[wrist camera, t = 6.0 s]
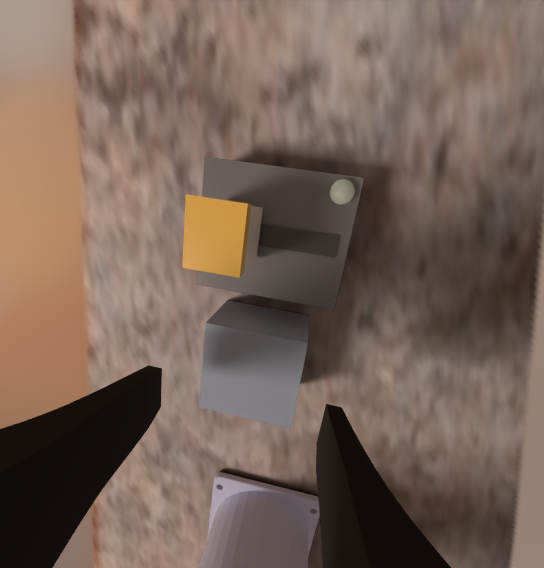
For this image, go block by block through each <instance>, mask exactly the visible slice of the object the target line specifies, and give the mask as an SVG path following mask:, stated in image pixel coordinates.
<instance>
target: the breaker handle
mask: <svg viewBox="0 0 544 568" xmlns="http://www.w3.org/2000/svg"><path fill="white" fill-rule="evenodd" d="M262 212H263V208H261V207H255V206H252V204H247V203H241V202H234V201H227V200H220V199H214V198H207V197H200V196H193V195H187V194H186V206H185V227H184V247H183V268H187V269H193V270H198V271H204V272H210V273H215V274H221V275H227V276H232V277H238V278H240V277H241V276H242V275H243V274H244V271H245V270H246V269H247V268H248V267H249V266H251V265H252V264H253V263H254V262H255V261H256V258H257V251H258V243H259V235H260V227H261V219H262Z"/></svg>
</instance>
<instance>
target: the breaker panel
mask: <svg viewBox="0 0 544 568" xmlns="http://www.w3.org/2000/svg"><path fill="white" fill-rule="evenodd" d="M363 181H364V178H363V177H355V176H348V175H340V174H332V173H325V172H317V171H310V170H302V169H295V168H287V167H280V166H272V165H264V164H257V163H249V162H242V161H234V160H227V159H219V158H212V157H205V161H204V177H203V192H202V197H207V198H214V199H220V200H227V201H234V202H241V203H247V204H252V206H255V207H261V208H263V212H262V219H261V227H260V235H259V243H258V251H257V258H256V261H255V262H254V263H253V264H252V265H251V266H249V267H248V268H247V269H246V270H245V271H244V274H243V275H242V276H241V277H240V278H238V277H232V276H227V275H221V274H215V273H210V272H204V271H198V270H197V285H201V286H207V287H212V288H218V289H223V290H229V291H234V292H240V293H245V294H251V295H256V296H262V297H267V298H273V299H278V300H284V301H289V302H295V303H300V304H306V305H311V306H317V307H322V308H328V309H333V310H334V309H335V305H336V300H337V296H338V292H339V287H340V283H341V278H342V274H343V269H344V265H345V261H346V256H347V252H348V247H349V243H350V238H351V234H352V230H353V225H354V221H355V216H356V212H357V207H358V203H359V198H360V194H361V190H362V185H363Z"/></svg>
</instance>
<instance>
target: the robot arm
mask: <svg viewBox="0 0 544 568" xmlns="http://www.w3.org/2000/svg"><path fill="white" fill-rule="evenodd" d="M161 377H162V368H157V367H152V366H147V367H145V368H143V369H140V370H138V371H136V372H134V373H132V374H130V375H128V376H126V377H124V378H122V379H120V380H118V381H116V382H114V383H112V384H110V385H108V386H106V387H104V388H102V389H100V390H98V391H96V392H94V393H92V394H90V395H87V396H85V397H83V398H81V399H79V400H76V401H74V402H72V403H70V404H68V405H65V406H63V407H60V408H58V409H56V410H53V411H51V412H48V413H46V414H43V415H40V416H37V417H35V418H32V419H29V420H27V421H24V422H21V423H18V424H15V425H12V426H9V427H5V428H2V429H0V568H52V567H53V566H54V564H55V562H56V561H57V559H58V558H59V556H60V554H61V553H62V551H63V550H64V548H65V546H66V545H67V543H68V541H69V540H70V538H71V537H72V535H73V533H74V532H75V530H76V529H77V527H78V525H79V524H80V522H81V521H82V519H83V518H84V516H85V515H86V513H87V511H88V510H89V508H90V507H91V505H92V504H93V502H94V501H95V499H96V498H97V496H98V495H99V493H100V492H101V490H102V489H103V488H104V486H105V485H106V483H107V482H108V481H109V480H110V478H111V477H112V476H113V474H114V473H115V472H116V470H117V469H118V468H119V466H120V465H121V464H122V463H123V461H124V460H125V459H126V457H127V456H128V455H129V453H130V452H131V451H132V449H133V448H134V447H135V445H136V444H137V443H138V441H139V440H140V439H141V437H142V436H143V435H144V433H145V432H146V431H147V429H148V428H149V426H150V424H151V423H152V421H153V420H154V418H155V416H156V414H157V413H158V411H159V409H160V407H161ZM316 474H317V487H318V497H317V496H314V495H310V494H306V493H302V492H298V491H294V490H290V489H286V488H282V487H278V486H274V485H270V484H266V483H262V482H258V481H254V480H250V479H246V478H242V477H238V476H234V475H231V474H227V473H223V472H219V473H217V474H216V476H215V479H214V485H213V494H212V503H211V513H210V522H209V531H208V539H207V542H206V545H205V548H204V552H203V555H202V558H201V561H200V564H199V568H308V556H309V552H310V548H311V545H312V541H313V537H314V534H315V530H316V526H317V523H318V519H319V515H320V524H321V536H322V554H323V568H451V567H450V566H449V565H448V563H447V562H446V561H445V560H444V559H443V558H442V557H441V555H440V554H439V553H438V552H437V551H436V549H435V548H434V547H433V546H432V545H431V543H430V542H429V541H428V540H427V539H426V537H425V536H424V535H423V534H422V533H421V531H420V530H419V529H418V528H417V526H416V525H415V524H414V523H413V521H412V520H411V519H410V517H409V516H408V515H407V514H406V512H405V511H404V509H403V508H402V507H401V505H400V504H399V503H398V501H397V500H396V499H395V497H394V496H393V494H392V493H391V491H390V490H389V488H388V487H387V485H386V484H385V482H384V481H383V479H382V478H381V476H380V475H379V473H378V472H377V470H376V469H375V467H374V465H373V464H372V462H371V460H370V459H369V457H368V455H367V454H366V452H365V450H364V448H363V447H362V445H361V443H360V441H359V440H358V438H357V436H356V434H355V432H354V430H353V429H352V427H351V425H350V423H349V421H348V419H347V417H346V415H345V413H344V411H343V409H342V408H341V407H337V406H332V405H328V404H326V407H325V412H324V416H323V420H322V424H321V428H320V432H319V436H318V440H317V455H316Z"/></svg>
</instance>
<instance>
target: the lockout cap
mask: <svg viewBox="0 0 544 568" xmlns="http://www.w3.org/2000/svg"><path fill="white" fill-rule="evenodd" d="M307 347H308V315H305V314H299V313H294V312H289V311H283V310H278V309H273V308H267V307H262V306H256V305H251V304H246V303H240V302H235V301H230V300H227V301H226V302H225V303H224V304H223V305H222V306H221V308H220V309H219V310H218V311H217V312H216V313H215V314H214V315H213V316H212V317H211V318H210V319H209V320H208V321H207V322H206V326H205V339H204V352H203V364H202V377H201V390H200V403H199V408H204V409H208V410H212V411H217V412H221V413H226V414H230V415H234V416H239V417H243V418H247V419H252V420H256V421H260V422H265V423H269V424H274V425H278V426H282V427H287V428H291V425H292V421H293V416H294V411H295V406H296V401H297V396H298V391H299V386H300V381H301V376H302V371H303V366H304V361H305V357H306V352H307Z"/></svg>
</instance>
